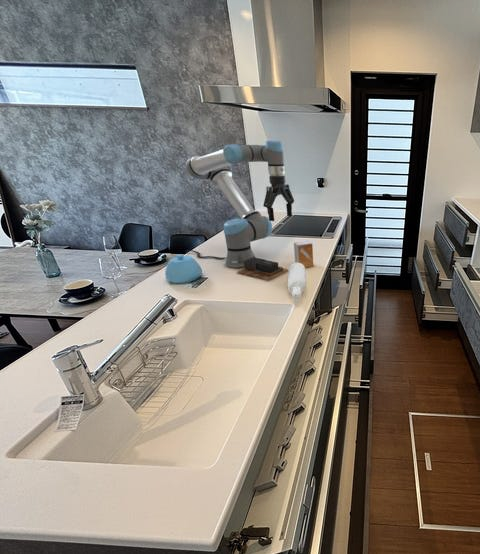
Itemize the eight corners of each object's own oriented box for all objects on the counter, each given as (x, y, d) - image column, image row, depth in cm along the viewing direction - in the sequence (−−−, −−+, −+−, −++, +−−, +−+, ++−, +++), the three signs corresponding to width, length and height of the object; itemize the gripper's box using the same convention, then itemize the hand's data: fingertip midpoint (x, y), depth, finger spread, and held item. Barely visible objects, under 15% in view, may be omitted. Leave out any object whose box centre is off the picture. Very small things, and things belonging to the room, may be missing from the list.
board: (237, 273, 152) (236, 262, 150) (258, 264, 164) (256, 254, 161) (269, 280, 144) (267, 270, 142) (288, 271, 156) (287, 261, 154)
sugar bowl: (159, 281, 141) (152, 257, 136) (187, 270, 154) (182, 248, 149) (183, 286, 136) (177, 262, 131) (210, 274, 149) (205, 252, 144)
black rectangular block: (258, 271, 151) (257, 263, 149) (266, 268, 156) (265, 259, 155) (270, 274, 148) (269, 265, 146) (278, 270, 153) (278, 262, 152)
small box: (299, 269, 159) (297, 245, 154) (295, 265, 164) (293, 242, 159) (313, 266, 163) (312, 243, 158) (309, 262, 168) (307, 240, 163)
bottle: (289, 277, 148) (287, 307, 122) (288, 262, 145) (285, 289, 118) (306, 276, 150) (307, 305, 123) (305, 261, 147) (306, 288, 120)
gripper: (264, 177, 137) (269, 223, 145) (299, 174, 157) (301, 214, 166) (252, 176, 140) (257, 222, 148) (287, 173, 160) (290, 213, 169)
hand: (281, 218), depth 157 cm, fingers open, 13 cm apart
